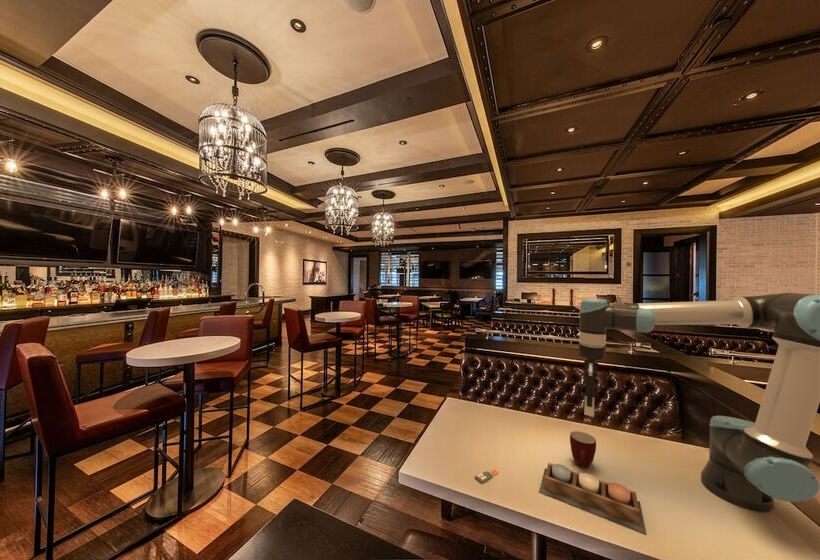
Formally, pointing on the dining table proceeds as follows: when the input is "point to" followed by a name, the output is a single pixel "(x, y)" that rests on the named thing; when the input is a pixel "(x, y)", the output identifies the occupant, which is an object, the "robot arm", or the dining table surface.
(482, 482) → the key chain
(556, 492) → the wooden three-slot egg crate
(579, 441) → the mug
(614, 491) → the brown oval piece
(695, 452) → the dining table surface
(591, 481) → the cream egg
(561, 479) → the slate egg
